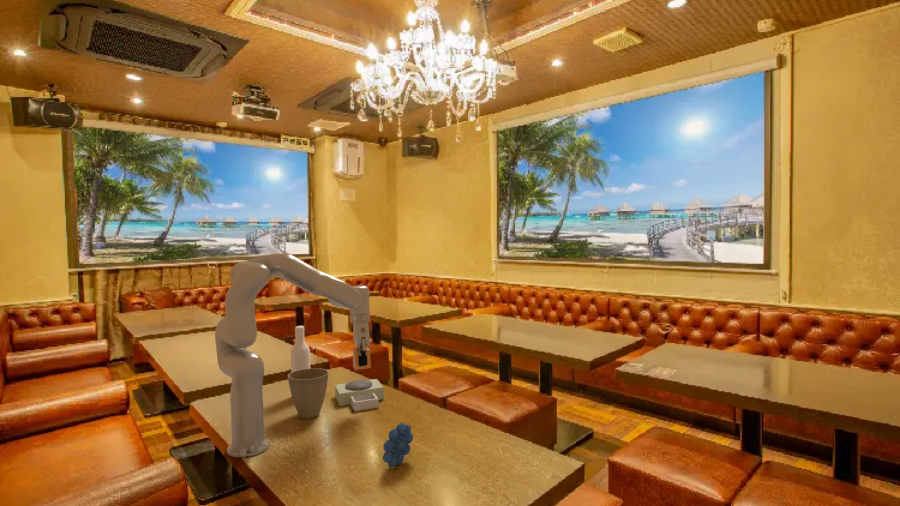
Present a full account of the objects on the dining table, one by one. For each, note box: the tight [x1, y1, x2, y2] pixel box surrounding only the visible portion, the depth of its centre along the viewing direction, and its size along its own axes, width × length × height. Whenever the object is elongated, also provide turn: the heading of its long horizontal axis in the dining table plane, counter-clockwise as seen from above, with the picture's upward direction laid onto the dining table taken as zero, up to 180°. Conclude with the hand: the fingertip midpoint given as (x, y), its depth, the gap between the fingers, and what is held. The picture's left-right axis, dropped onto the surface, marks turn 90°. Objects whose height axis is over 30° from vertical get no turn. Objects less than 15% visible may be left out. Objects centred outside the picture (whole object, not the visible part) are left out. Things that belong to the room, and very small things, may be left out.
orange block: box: [352, 347, 372, 371], centre depth 181 cm, size 4×6×7 cm
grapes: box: [382, 422, 414, 468], centre depth 138 cm, size 12×7×12 cm, turn 140°
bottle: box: [290, 325, 311, 373], centre depth 196 cm, size 8×8×30 cm
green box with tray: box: [334, 378, 385, 412], centre depth 190 cm, size 20×18×6 cm
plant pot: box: [287, 367, 329, 420], centre depth 176 cm, size 15×15×16 cm
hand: (361, 363), depth 181 cm, fingers closed on orange block, 4 cm apart
